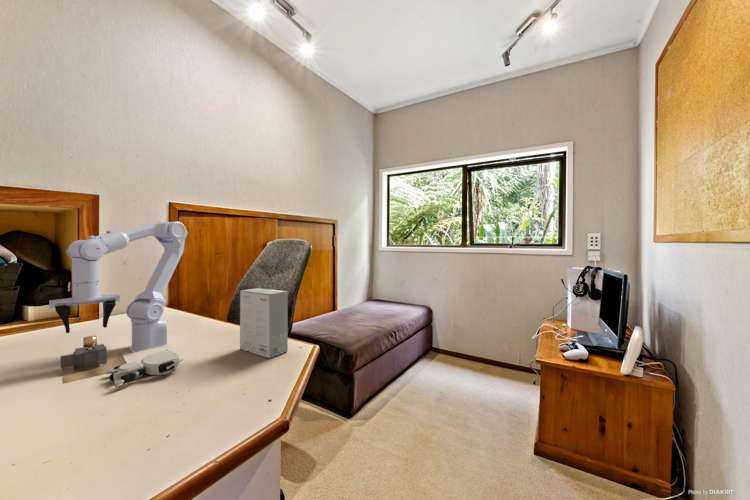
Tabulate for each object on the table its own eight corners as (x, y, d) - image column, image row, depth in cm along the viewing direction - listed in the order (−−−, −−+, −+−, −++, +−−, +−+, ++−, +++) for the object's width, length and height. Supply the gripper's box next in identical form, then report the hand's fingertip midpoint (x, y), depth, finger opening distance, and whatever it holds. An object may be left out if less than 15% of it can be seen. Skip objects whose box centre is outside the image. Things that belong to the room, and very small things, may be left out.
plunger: (100, 358, 89) (100, 333, 89) (102, 362, 86) (102, 337, 86) (78, 362, 86) (77, 337, 86) (78, 367, 83) (78, 340, 82)
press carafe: (105, 359, 91) (105, 343, 91) (108, 365, 86) (107, 348, 86) (60, 367, 84) (60, 350, 84) (60, 375, 79) (60, 357, 79)
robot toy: (116, 397, 72) (186, 372, 83) (114, 378, 71) (185, 356, 83) (105, 381, 79) (171, 360, 91) (103, 365, 79) (169, 346, 91)
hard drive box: (288, 351, 100) (288, 291, 100) (269, 359, 93) (269, 294, 93) (258, 343, 108) (258, 287, 108) (238, 349, 102) (238, 289, 101)
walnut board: (120, 353, 97) (120, 351, 97) (129, 370, 84) (129, 368, 84) (62, 364, 88) (62, 363, 88) (62, 385, 75) (62, 383, 75)
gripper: (117, 278, 95) (117, 322, 95) (49, 282, 84) (49, 331, 85) (120, 280, 90) (121, 326, 90) (49, 285, 79) (49, 337, 80)
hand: (86, 329), depth 87 cm, fingers open, 7 cm apart
